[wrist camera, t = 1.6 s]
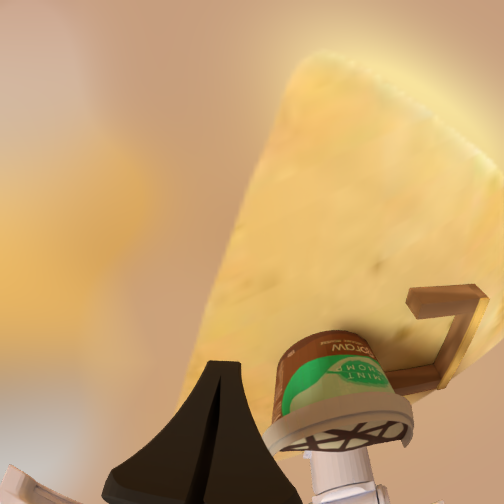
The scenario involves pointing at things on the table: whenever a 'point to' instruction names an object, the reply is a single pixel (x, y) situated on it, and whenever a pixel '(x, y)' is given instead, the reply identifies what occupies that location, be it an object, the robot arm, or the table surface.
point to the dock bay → (457, 340)
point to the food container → (334, 398)
